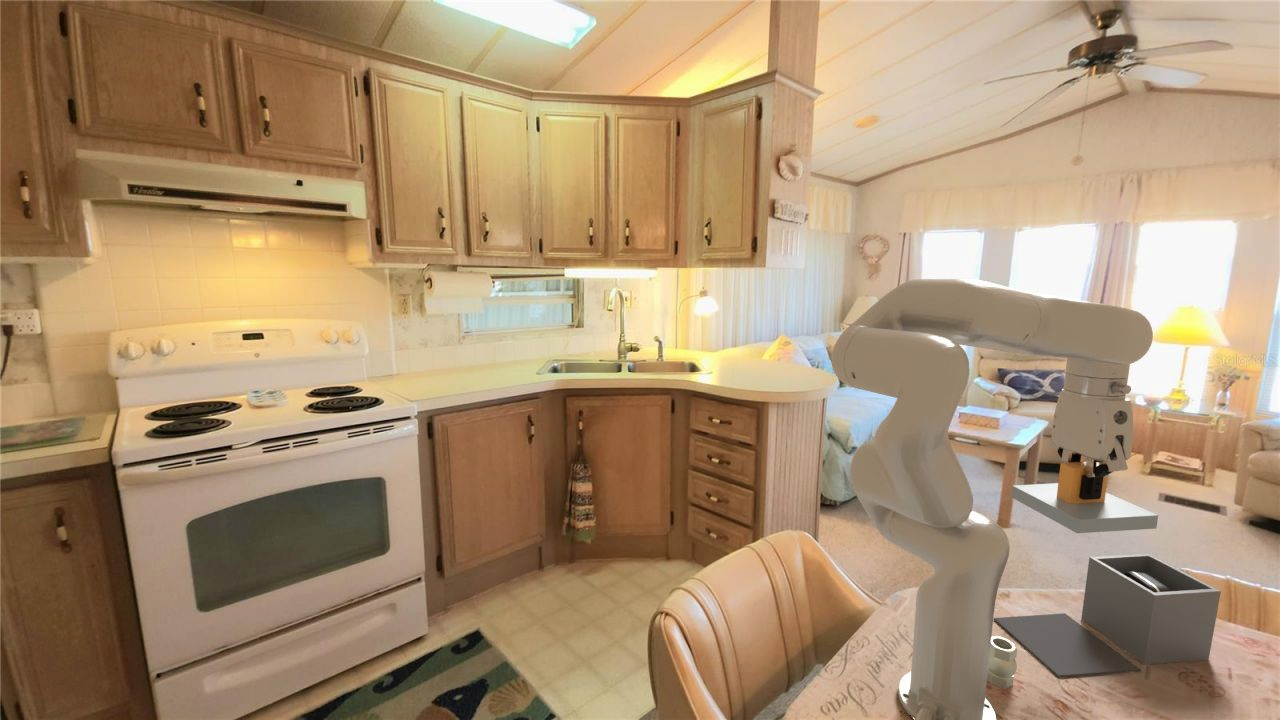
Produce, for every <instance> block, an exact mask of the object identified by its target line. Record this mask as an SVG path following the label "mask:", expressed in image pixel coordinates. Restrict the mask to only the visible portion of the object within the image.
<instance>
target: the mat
mask: <svg viewBox="0 0 1280 720" xmlns="http://www.w3.org/2000/svg"><path fill="white" fill-rule="evenodd" d="M994 621H995V623H997V625H998V626H1000V627H1001V628H1002V629H1004V630H1005V632H1006V633H1008V634H1009V636H1011V637H1012V638H1013V639H1015V640H1016V641H1017V643H1019V644H1020V645H1021V646H1022V647H1023V648H1025V649H1026V650H1027V651H1028V652H1029V653H1030V654H1031V655H1032V654H1033V657H1034V658H1036V659H1037V660H1038V661H1039V660H1040V661H1041V662H1042V663H1041V662H1040V661H1039V662H1040V663H1041V664H1042V665H1044V666H1045V667H1046V668H1047V669H1048V670H1049V671H1050V672H1051V673H1052V674H1053V675H1055V676H1056V677H1058V678H1069V677H1083V676H1084V677H1085V676H1096V675H1097V676H1099V675H1110V674H1125V673H1127V674H1128V673H1136V672H1137V673H1139V672H1141V670H1142V669H1141V668H1140V667H1138V666H1137V665H1136V664H1135V663H1133V662H1132V661H1130V660H1129V659H1128V658H1126V657H1125V656H1123V655H1122V654H1120V653H1119V652H1118V650H1115V649H1114V648H1113V647H1112V646H1110V645H1109V644H1107V642H1105V641H1103V639H1101V638H1100V637H1098V636H1097V635H1095V634H1094V633H1092V632H1091V631H1090V630H1089V629H1087V628H1086V627H1084V626H1083V625H1082V624H1080V623H1079V622H1078V621H1076V620H1075V619H1073V618H1072V617H1071V616H1069V615H1068V614H1067V613H1050V614H1049V613H1048V614H1037V615H1036V614H1035V615H1020V616H1008V617H1007V616H1003V617H993V622H994Z"/></svg>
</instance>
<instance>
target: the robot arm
mask: <svg viewBox="0 0 1280 720" xmlns="http://www.w3.org/2000/svg"><path fill="white" fill-rule="evenodd" d="M1153 335H1154V334H1153V327H1152V325H1151V323H1150V321H1149V320H1148V319H1147V317H1146V316H1145V315H1143V314H1142V313H1141V312H1139V311H1137V310H1133V309H1129V308H1126V307H1122V306H1118V305H1111V304H1104V303H1099V302H1091V301H1085V300H1077V299H1072V298H1066V297H1062V296H1055V295H1049V294H1041V293H1034V292H1029V291H1025V290H1021V289H1016V288H1012V287H1009V286H1005V285H1001V284H997V283H993V282H989V281H984V280H980V279H979V280H978V279H970V278H969V279H968V278H916V279H910V280H908V281H905V282H902V283H901V284H899V285H898V286H896V287H895V288H892V289H891V290H890V291H889V292H888V293H886V294H885V295H884V296H882V297H881V298H880V299H879V300H877V301H876V302H875V303H874V304H873V305H871V307H869V308H868V309H867V310H866V311H864V312H863V313H862V314H861V316H859V317H858V318H856V320H854V321H853V322H852V323H851V324H850V325H849V326H847V328H846V329H844V331H843V332H842V333H841V334H840V336H839V337H838V338H837V340H836V342H835V344H834V345H833V348H832V352H831V358H830V359H831V367H832V369H833V372H834V374H835V376H836V378H838V379H839V380H840V382H842V383H844V384H845V385H848V386H849V387H851V388H854V389H858V390H862V391H866V392H870V393H875V394H879V395H882V396H883V395H884V396H887V397H891V398H896V400H895V402H894V404H893V406H892V408H891V410H890V411H889V413H888V414H887V416H886V417H885V418H884V419H883V420H882V421H881V422H880V424H879V426H878V428H877V429H876V432H875V435H874V438H873V439H869V440H867V441H865V442H864V443H862V444H861V445H860V446H858V448H857V449H856V451H855V452H854V454H853V456H852V459H851V462H850V468H849V475H850V476H849V477H850V482H851V487H852V490H853V492H854V494H855V495H856V497H857V499H858V501H859V502H860V504H861V506H862V508H863V509H864V511H865V512H866V514H867V516H868V517H869V519H870V521H871V522H872V525H874V526H875V529H876V530H877V532H879V534H880V535H881V536H882V537H883V538H884V539H885V540H887V541H888V542H889V543H890V544H892V545H894V546H896V547H898V548H899V549H901V550H904V552H908V554H911V555H912V556H915V557H916V558H918V559H920V560H922V561H923V562H925V563H927V564H928V565H930V566H931V567H932V568H933V570H934V573H933V574H932V575H930V576H928V577H927V578H925V579H924V580H923V581H922V582H921V583H920V585H919V586H918V588H917V591H916V598H915V599H916V600H915V611H914V612H915V615H914V626H913V627H914V629H913V638H912V639H913V642H912V654H911V655H912V657H911V667H910V668H911V670H910V671H909V672H908V673H906V674H903V676H902V677H901V678H900V680H899V682H898V691H897V692H898V699H899V702H900V704H901V705H902V708H903V709H904V711H905V712H906V713H907V715H908V716H909V715H911V716H912V717H914V718H915V720H997V716H996V712H995V709H994V708H993V706H992V704H991V703H990V702H989V701H988V698H986V694H987V693H986V692H987V685H988V684H987V683H988V679H987V676H988V666H989V656H990V646H991V637H993V636H992V633H993V624H994V617H995V616H994V614H995V606H996V600H997V596H998V595H997V594H998V590H999V586H1000V583H1001V580H1002V577H1003V573H1004V571H1005V569H1006V565H1007V563H1008V559H1009V556H1010V550H1011V546H1010V545H1011V544H1010V540H1009V538H1008V535H1007V533H1006V531H1004V529H1003V528H1002V527H1001V526H1000V525H999V524H998V523H997V522H995V521H994V520H993V519H991V518H990V517H988V516H986V515H984V514H982V513H981V512H978V511H976V510H974V509H973V507H974V497H973V491H972V488H971V486H970V483H969V480H968V478H967V476H966V474H965V472H964V470H963V468H962V465H961V463H960V461H959V458H958V457H957V455H956V452H955V450H954V448H953V446H952V444H951V441H950V438H949V430H950V429H949V428H950V427H951V423H952V420H953V418H954V416H955V413H956V411H957V408H958V406H959V404H960V401H961V399H962V397H963V394H964V392H965V390H966V387H967V384H968V381H969V378H970V377H969V376H970V362H969V358H968V355H967V353H966V351H965V349H964V348H963V347H962V346H968V347H972V348H973V347H974V348H979V349H986V350H993V351H999V352H1004V353H1010V354H1011V353H1012V354H1019V355H1028V356H1037V357H1038V356H1039V357H1053V358H1060V359H1061V358H1062V359H1066V363H1065V365H1066V366H1065V373H1064V374H1065V375H1064V383H1063V388H1062V389H1060V393H1059V396H1058V398H1057V402H1056V405H1055V409H1054V413H1053V419H1052V426H1051V439H1050V441H1049V444H1050V446H1051V447H1052V448H1053V449H1054V450H1055V451H1056V452H1057V454H1058V455H1059V457H1060V460H1061V462H1060V464H1061V463H1070V462H1084V460H1085V459H1084V458H1085V457H1086V461H1085V462H1086V475H1082V480H1081V488H1080V496H1079V497H1080V498H1081V499H1083V500H1090V499H1100V498H1101V493H1102V485H1103V477H1107V476H1108V477H1109V475H1110V474H1112V473H1113V472H1123V471H1124V472H1125V471H1127V470H1128V467H1129V466H1128V464H1127V461H1128V460H1129V459H1131V456H1132V450H1133V443H1134V442H1133V441H1134V439H1133V437H1134V415H1133V413H1134V412H1133V406H1132V401H1131V399H1130V398H1127V397H1126V396H1127V395H1128V394H1130V393H1131V391H1132V387H1131V386H1130V385H1129V384H1128V382H1129V375H1130V374H1129V373H1130V366H1131V364H1134V363H1136V362H1138V361H1140V360H1141V359H1142V358H1143V357H1145V355H1147V353H1148V351H1149V350H1150V348H1151V346H1152V343H1153V338H1154V336H1153ZM1126 460H1127V461H1126ZM1096 462H1098V463H1099V465H1098V466H1097V467H1096ZM911 716H910V717H911ZM912 717H911V718H912Z"/></svg>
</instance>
